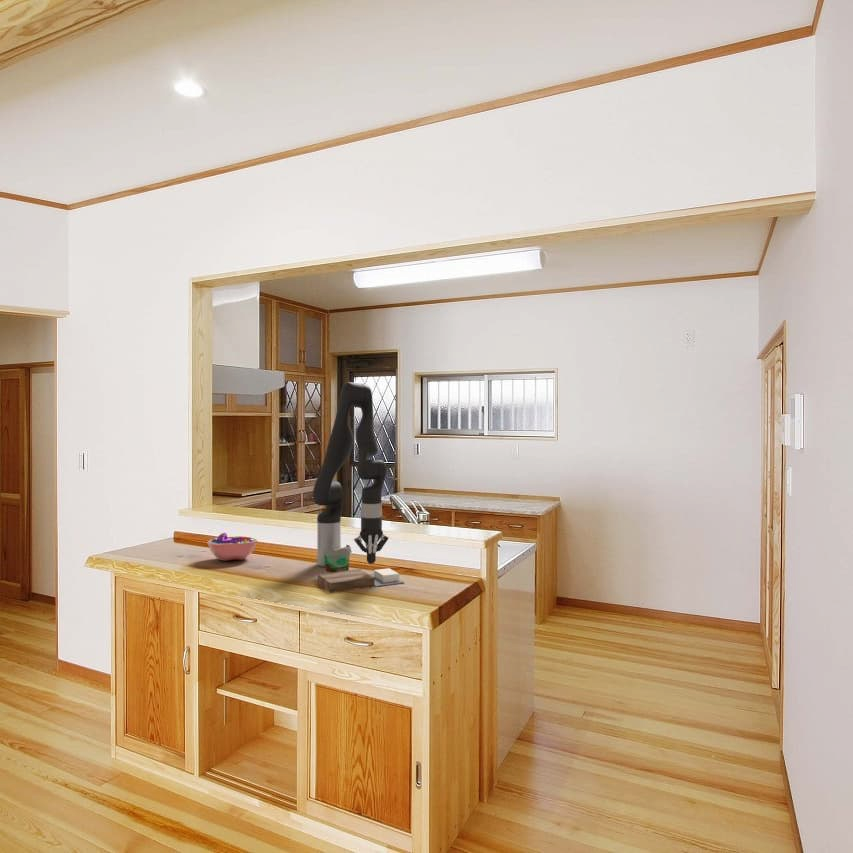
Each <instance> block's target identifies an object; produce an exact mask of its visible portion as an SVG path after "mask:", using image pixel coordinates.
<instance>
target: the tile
mask: <svg viewBox="0 0 853 853" xmlns="http://www.w3.org/2000/svg"><path fill="white" fill-rule="evenodd" d="M373 574H374V577H375V578H377V579H379V580H380V581H382V582H383V583H384V582H392V581H399V579H400V573H398V572H397V571H395V570H393V569H391V568H390V567H388V568H380V569H374V572H373Z"/></svg>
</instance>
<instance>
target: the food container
mask: <svg viewBox="0 0 853 853" xmlns="http://www.w3.org/2000/svg"><path fill="white" fill-rule="evenodd" d="M351 553H352V547H351V546H350V544H346V546H345V547H341V548H335V549H333V550H325V549H324V551H323V555H324V560H325V567H324V569H325V573H331V572H340V571H348V570H349V567H350V558H351V557H350V556H351Z"/></svg>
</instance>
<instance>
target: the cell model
mask: <svg viewBox="0 0 853 853" xmlns="http://www.w3.org/2000/svg"><path fill="white" fill-rule="evenodd" d="M206 543H207V545H208V547H209V550H210V552H211V554H212V555H213V556H214V557H215V558H216V559H219V560H220V561H223V562H229V561H235V560H238V561H241V560H244V559H246V558H247V557H249V556H250V555H251V554H252V553H253V552H254V550H255V549H256V545H257V543H258V539H255V538H253V537H250V536H242V535H241V536H228V534H227V533H226V532H222V533H220V534H219V535H218V536H217V538H216V537H215V538H211V539H209V540H208V541H207V542H206Z"/></svg>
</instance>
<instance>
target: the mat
mask: <svg viewBox="0 0 853 853" xmlns="http://www.w3.org/2000/svg"><path fill="white" fill-rule="evenodd" d="M368 574H369V575H371V576H372V577H374V573H368ZM374 578H375V577H374ZM394 584H395V585H401V584H402V585H403V584H405V582H404V581H403V580H401V579H400V578H399V581H392V582H384V583H383V582H382V581H380V580H379V579H377V578H375V586H374V588H378V587H377V586H380V587H386V586H385V585H387V586H393V585H394Z"/></svg>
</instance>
